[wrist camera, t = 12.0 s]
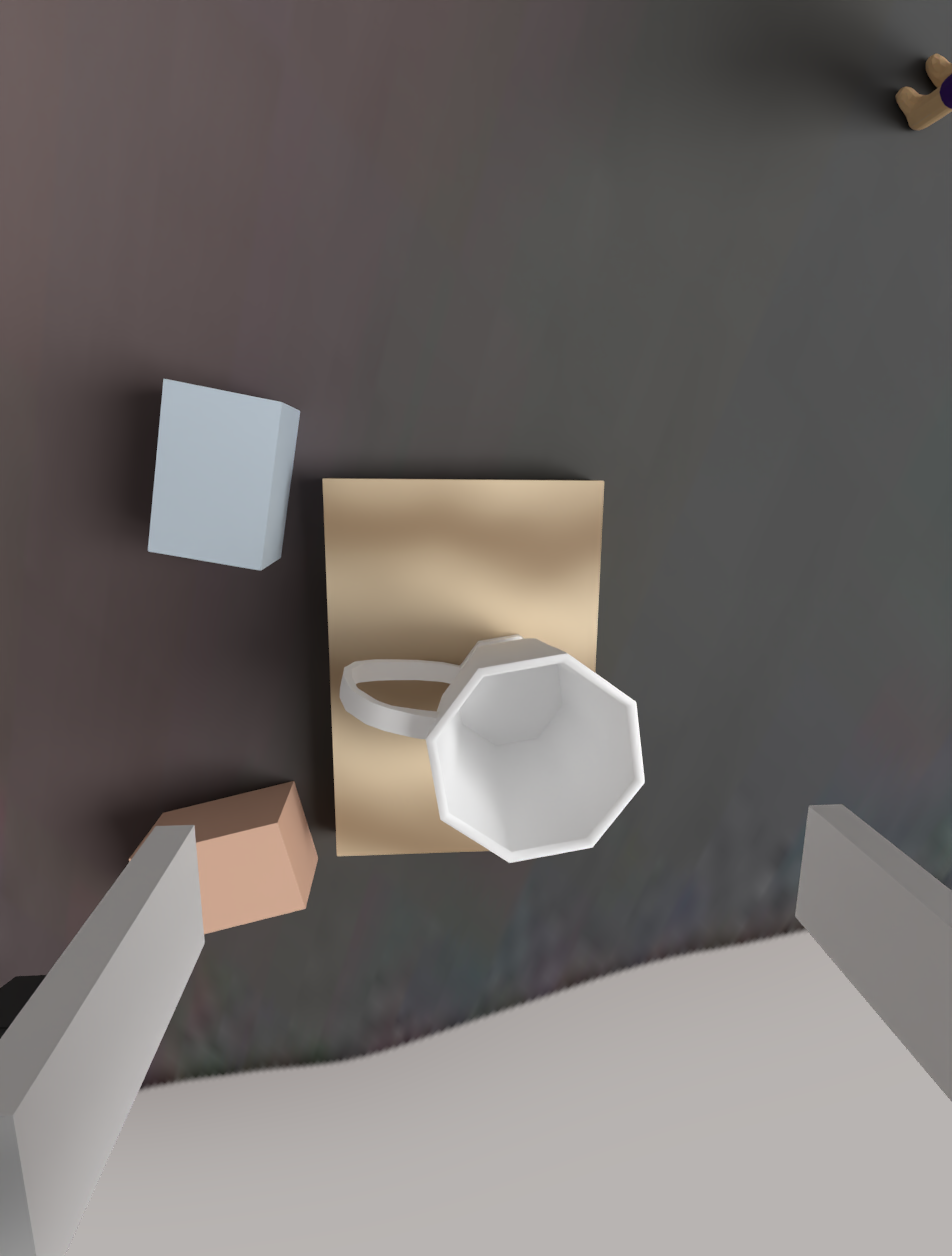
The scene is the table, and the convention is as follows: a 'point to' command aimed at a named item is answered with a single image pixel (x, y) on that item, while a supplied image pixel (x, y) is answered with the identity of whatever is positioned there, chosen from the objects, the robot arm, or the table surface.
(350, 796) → the oak board
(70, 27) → the table surface
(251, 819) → the terracotta brick
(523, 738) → the cup
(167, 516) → the slate brick
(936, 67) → the toy
